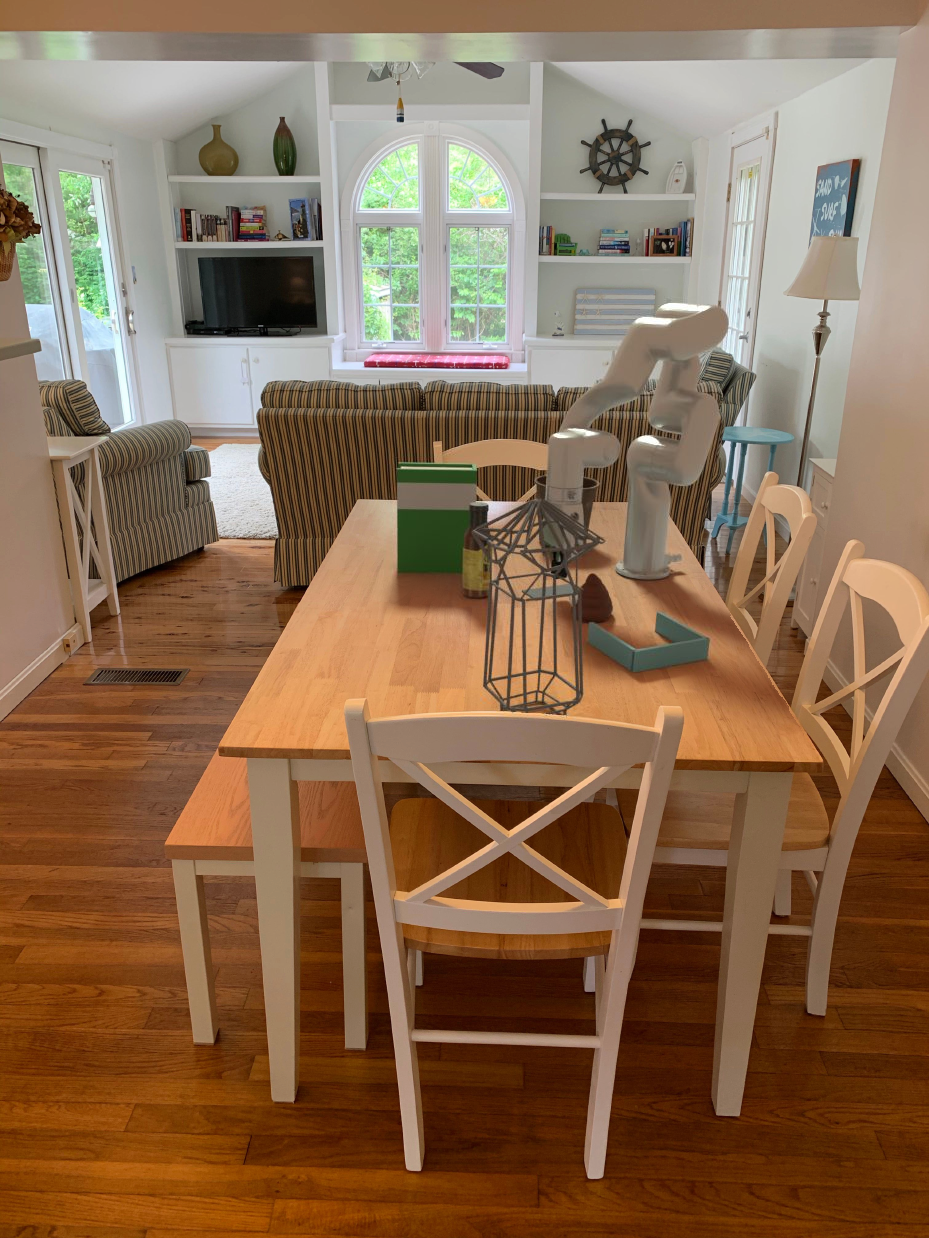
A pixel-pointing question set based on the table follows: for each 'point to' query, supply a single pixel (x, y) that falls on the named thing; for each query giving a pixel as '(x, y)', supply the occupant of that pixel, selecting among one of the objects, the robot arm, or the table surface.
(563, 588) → the mat
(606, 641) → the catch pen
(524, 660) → the geometric lantern
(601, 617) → the poop emoji
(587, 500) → the plant pot
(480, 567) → the sauce bottle
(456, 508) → the hardback book
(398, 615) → the table surface
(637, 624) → the table surface
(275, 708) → the table surface
